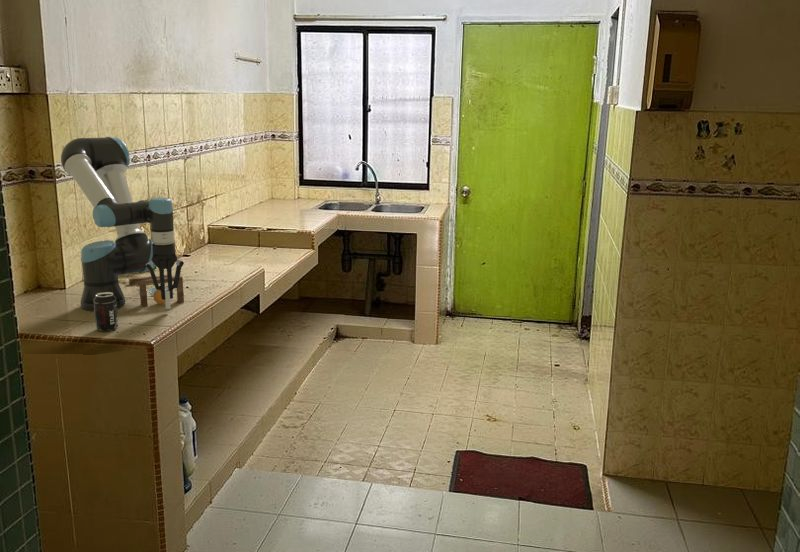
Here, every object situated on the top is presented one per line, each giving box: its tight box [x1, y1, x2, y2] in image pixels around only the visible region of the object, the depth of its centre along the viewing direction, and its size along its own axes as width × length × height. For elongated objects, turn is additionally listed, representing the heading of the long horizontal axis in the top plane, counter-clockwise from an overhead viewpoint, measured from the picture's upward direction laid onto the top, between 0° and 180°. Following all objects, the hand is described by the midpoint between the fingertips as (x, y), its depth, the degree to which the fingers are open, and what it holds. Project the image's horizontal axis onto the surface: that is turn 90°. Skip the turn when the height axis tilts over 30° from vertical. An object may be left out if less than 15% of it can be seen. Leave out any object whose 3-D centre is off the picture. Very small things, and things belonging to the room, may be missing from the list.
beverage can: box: [93, 292, 119, 332], centre depth 230 cm, size 7×7×12 cm
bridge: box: [138, 275, 185, 307], centre depth 260 cm, size 3×15×10 cm, turn 117°
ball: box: [152, 290, 165, 305], centre depth 260 cm, size 6×6×6 cm
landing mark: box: [137, 286, 175, 297], centre depth 277 cm, size 12×12×1 cm
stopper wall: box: [128, 274, 167, 286], centre depth 291 cm, size 16×2×2 cm, turn 117°
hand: (167, 307), depth 250 cm, fingers closed
